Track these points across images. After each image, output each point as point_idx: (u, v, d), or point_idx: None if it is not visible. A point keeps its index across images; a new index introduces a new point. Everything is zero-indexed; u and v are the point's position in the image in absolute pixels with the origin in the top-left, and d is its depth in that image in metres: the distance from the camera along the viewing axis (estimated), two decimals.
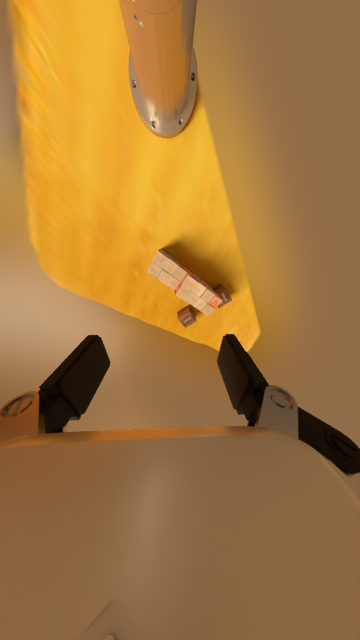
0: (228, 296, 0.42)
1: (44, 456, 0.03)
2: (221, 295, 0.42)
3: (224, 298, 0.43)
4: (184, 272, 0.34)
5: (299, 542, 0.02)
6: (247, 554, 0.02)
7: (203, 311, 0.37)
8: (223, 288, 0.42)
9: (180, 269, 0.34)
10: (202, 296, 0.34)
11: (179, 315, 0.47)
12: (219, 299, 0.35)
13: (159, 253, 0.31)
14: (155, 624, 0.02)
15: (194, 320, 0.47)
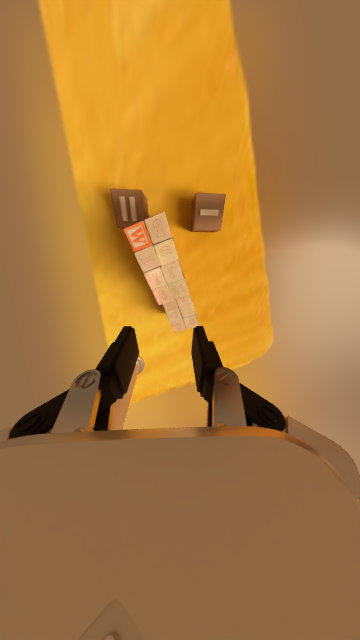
0: (115, 205, 0.22)
1: (44, 456, 0.03)
2: (128, 219, 0.23)
3: (124, 206, 0.22)
4: None
5: (299, 542, 0.02)
6: (247, 554, 0.02)
7: (167, 233, 0.18)
8: (122, 227, 0.24)
9: (165, 306, 0.27)
10: (155, 264, 0.20)
11: (214, 230, 0.25)
12: (129, 237, 0.18)
13: (175, 330, 0.30)
14: (155, 624, 0.02)
15: (199, 198, 0.22)
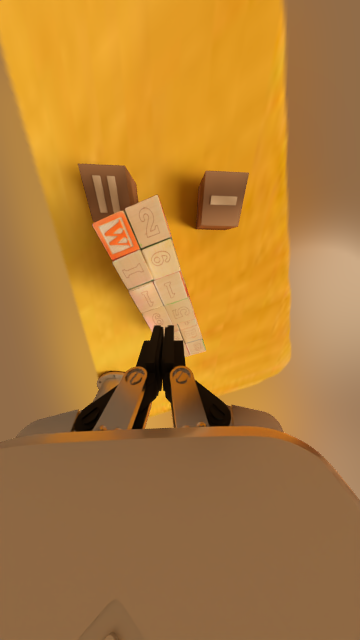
0: (88, 189, 0.15)
1: (44, 456, 0.03)
2: (108, 211, 0.16)
3: (101, 191, 0.15)
4: None
5: (299, 542, 0.02)
6: (247, 554, 0.02)
7: (163, 230, 0.11)
8: None
9: None
10: (145, 278, 0.13)
11: (228, 227, 0.18)
12: (103, 237, 0.11)
13: None
14: (155, 624, 0.02)
15: (209, 179, 0.15)
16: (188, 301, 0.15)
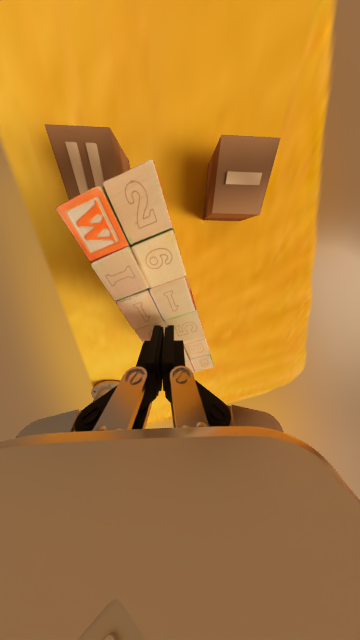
0: (62, 162, 0.11)
1: (44, 456, 0.03)
2: None
3: (79, 165, 0.11)
4: None
5: (299, 542, 0.02)
6: (247, 554, 0.02)
7: (162, 217, 0.08)
8: None
9: None
10: (137, 287, 0.10)
11: (245, 216, 0.14)
12: (74, 228, 0.08)
13: None
14: (155, 625, 0.02)
15: (226, 147, 0.11)
16: (196, 315, 0.11)
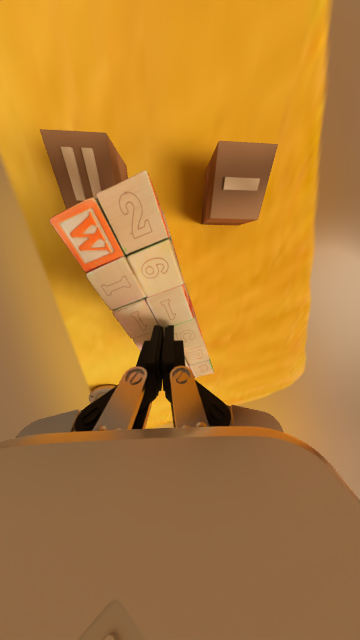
0: (57, 167, 0.11)
1: (44, 456, 0.03)
2: (87, 198, 0.12)
3: (75, 170, 0.11)
4: None
5: (299, 542, 0.02)
6: (247, 554, 0.02)
7: (157, 227, 0.08)
8: None
9: None
10: (134, 296, 0.09)
11: (243, 221, 0.14)
12: (68, 239, 0.08)
13: None
14: (155, 624, 0.02)
15: (223, 153, 0.11)
16: (194, 323, 0.11)
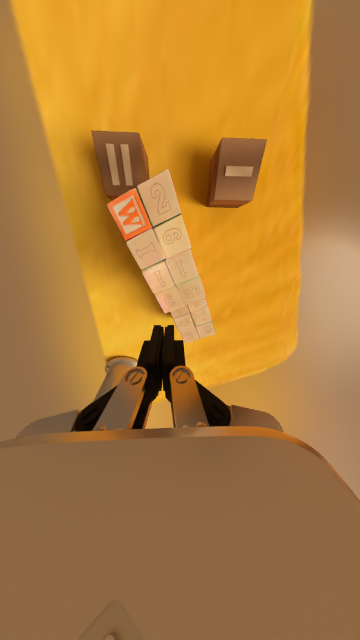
0: (101, 159, 0.15)
1: (44, 456, 0.03)
2: (120, 183, 0.16)
3: (114, 161, 0.15)
4: None
5: (299, 542, 0.02)
6: (247, 554, 0.02)
7: (174, 206, 0.12)
8: (112, 197, 0.17)
9: (173, 313, 0.21)
10: (157, 258, 0.14)
11: (241, 202, 0.18)
12: (117, 217, 0.12)
13: (186, 340, 0.24)
14: (154, 626, 0.02)
15: (225, 147, 0.14)
16: (199, 280, 0.15)
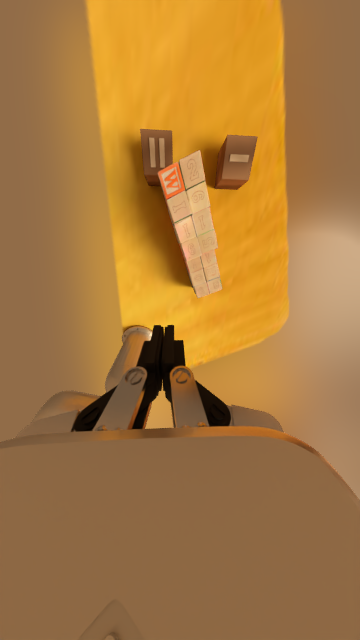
0: (144, 148, 0.21)
1: (44, 456, 0.03)
2: (156, 166, 0.22)
3: (153, 150, 0.21)
4: (188, 262, 0.26)
5: (299, 542, 0.02)
6: (247, 554, 0.02)
7: (201, 175, 0.18)
8: (148, 177, 0.23)
9: (190, 268, 0.27)
10: (186, 213, 0.20)
11: (240, 182, 0.25)
12: (163, 182, 0.18)
13: (198, 295, 0.30)
14: (154, 626, 0.02)
15: (229, 141, 0.21)
16: (214, 232, 0.21)
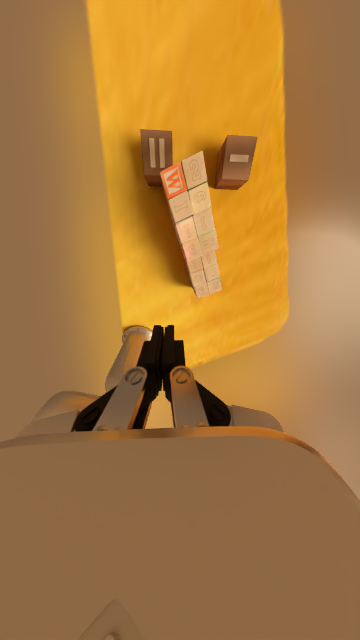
0: (144, 148, 0.21)
1: (44, 456, 0.03)
2: (156, 166, 0.22)
3: (153, 150, 0.21)
4: (188, 262, 0.26)
5: (299, 542, 0.02)
6: (247, 554, 0.02)
7: (203, 175, 0.18)
8: (147, 177, 0.24)
9: (190, 268, 0.27)
10: (188, 213, 0.20)
11: (240, 182, 0.25)
12: (165, 181, 0.18)
13: (198, 295, 0.30)
14: (154, 626, 0.02)
15: (229, 141, 0.21)
16: (215, 233, 0.22)
